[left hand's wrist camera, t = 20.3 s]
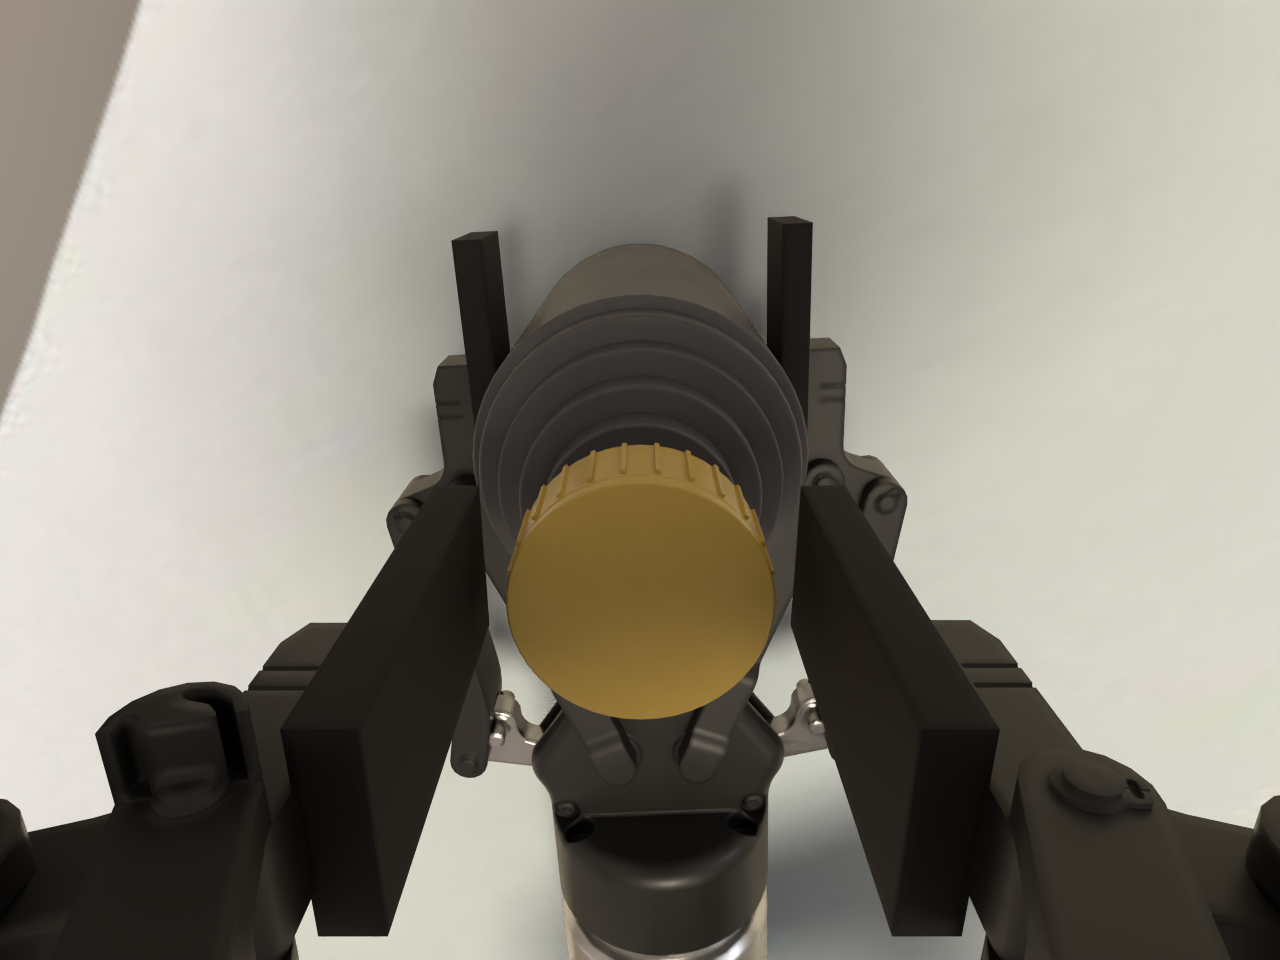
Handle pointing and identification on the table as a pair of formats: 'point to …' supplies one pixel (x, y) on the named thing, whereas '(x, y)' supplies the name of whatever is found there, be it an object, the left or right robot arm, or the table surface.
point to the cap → (640, 583)
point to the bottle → (640, 388)
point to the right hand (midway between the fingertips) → (631, 228)
